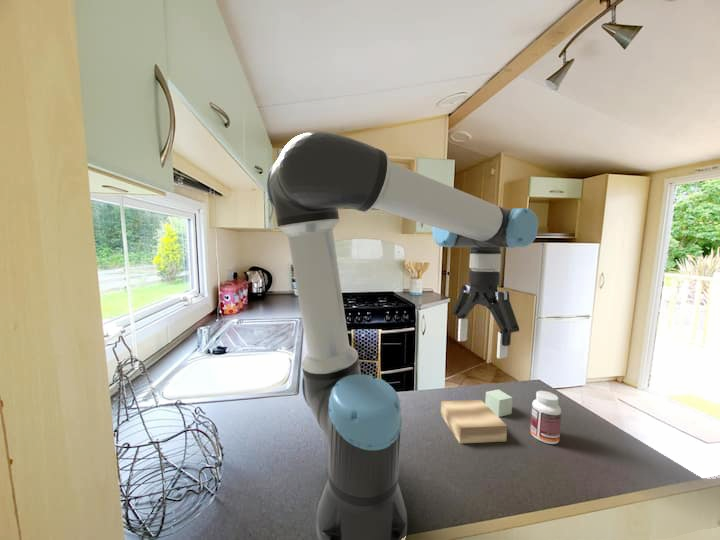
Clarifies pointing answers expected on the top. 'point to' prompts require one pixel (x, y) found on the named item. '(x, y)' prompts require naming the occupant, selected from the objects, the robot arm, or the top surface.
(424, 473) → the top surface
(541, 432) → the pill bottle
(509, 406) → the sage cube
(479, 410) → the oak block
